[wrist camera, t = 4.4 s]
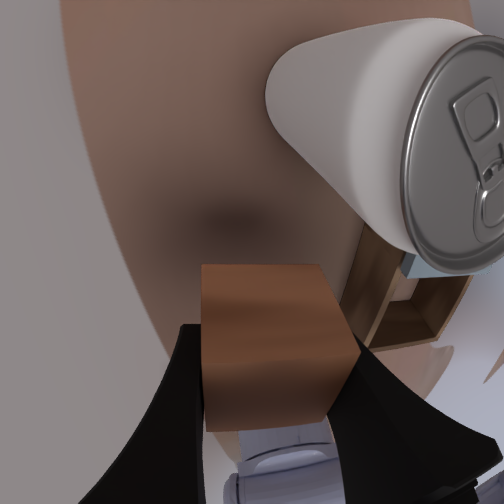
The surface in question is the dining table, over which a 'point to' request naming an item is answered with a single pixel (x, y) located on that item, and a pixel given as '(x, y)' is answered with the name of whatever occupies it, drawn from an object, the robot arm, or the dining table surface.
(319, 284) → the block
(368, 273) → the brown rectangular box
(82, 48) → the dining table surface
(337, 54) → the can
